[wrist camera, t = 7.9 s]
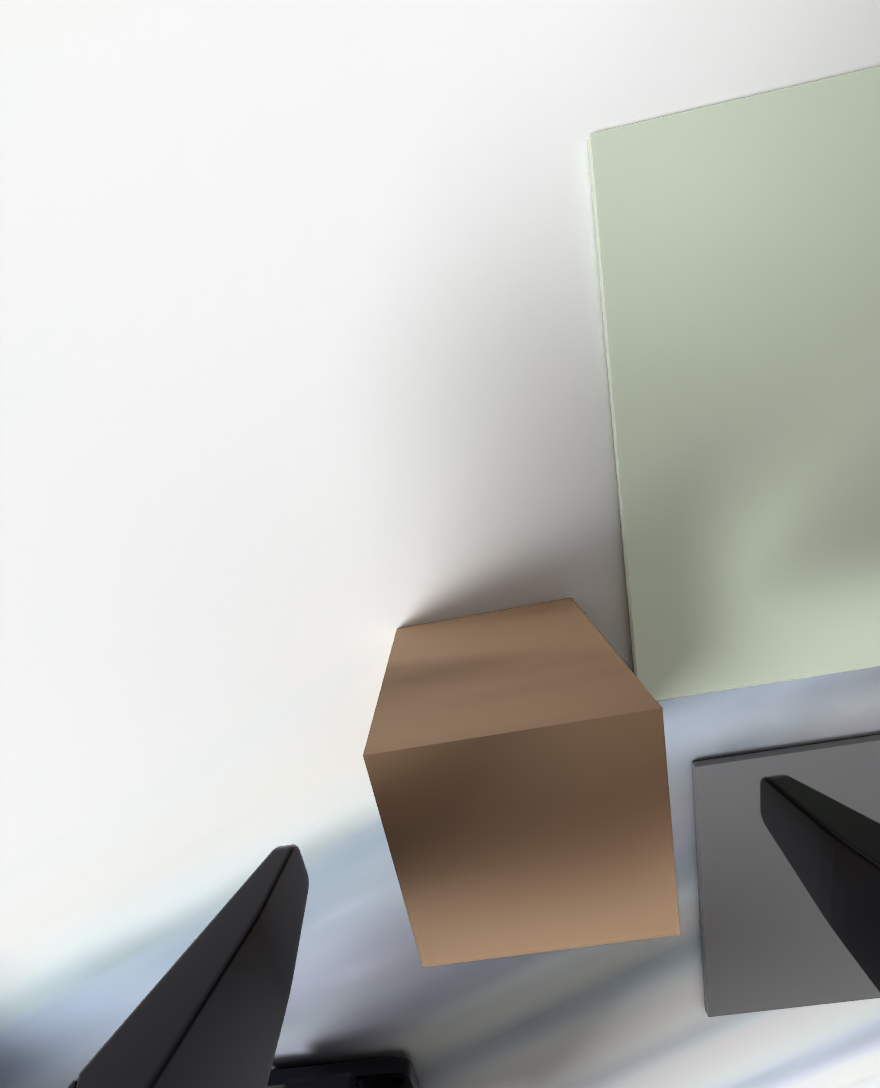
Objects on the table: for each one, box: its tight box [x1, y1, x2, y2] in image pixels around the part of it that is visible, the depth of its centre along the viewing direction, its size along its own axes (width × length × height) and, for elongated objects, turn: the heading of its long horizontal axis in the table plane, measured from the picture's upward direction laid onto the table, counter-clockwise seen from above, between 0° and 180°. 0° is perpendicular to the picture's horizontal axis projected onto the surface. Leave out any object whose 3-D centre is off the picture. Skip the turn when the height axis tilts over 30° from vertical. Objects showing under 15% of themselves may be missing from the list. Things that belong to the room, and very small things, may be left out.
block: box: [363, 598, 680, 967], centre depth 10 cm, size 5×5×5 cm
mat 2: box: [692, 735, 880, 1017], centre depth 13 cm, size 11×11×1 cm
